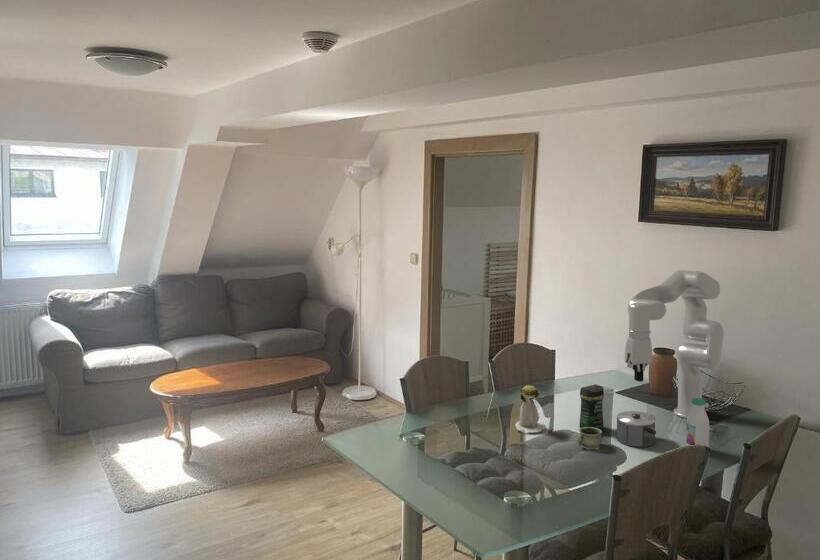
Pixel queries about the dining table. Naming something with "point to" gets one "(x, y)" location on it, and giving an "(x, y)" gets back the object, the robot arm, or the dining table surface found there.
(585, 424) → the coffee jar
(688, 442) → the milk bottle
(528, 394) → the white figurine
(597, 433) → the vessel
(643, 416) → the lid
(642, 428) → the pot
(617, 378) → the dining table surface
